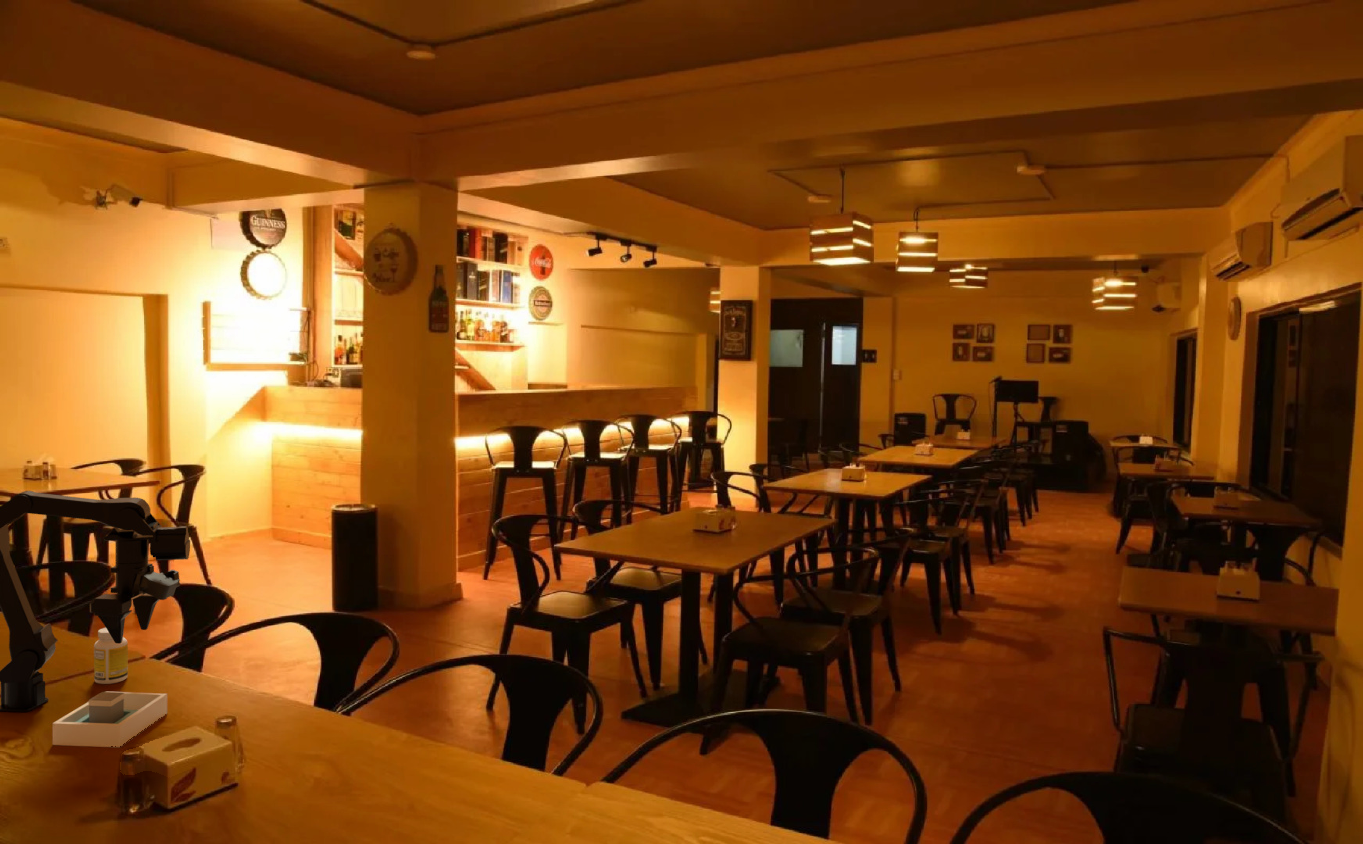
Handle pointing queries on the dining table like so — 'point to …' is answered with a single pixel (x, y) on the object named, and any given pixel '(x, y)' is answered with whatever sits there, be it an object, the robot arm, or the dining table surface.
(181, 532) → the robot arm
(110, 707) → the square block
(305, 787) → the dining table surface
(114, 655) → the pill bottle
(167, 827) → the dining table surface
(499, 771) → the dining table surface
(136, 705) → the walled box
